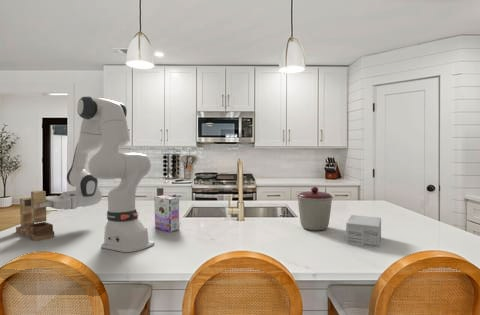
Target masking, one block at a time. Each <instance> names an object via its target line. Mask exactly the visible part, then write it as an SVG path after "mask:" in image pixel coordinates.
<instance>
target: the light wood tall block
mask: <svg viewBox="0 0 480 315" xmlns="http://www.w3.org/2000/svg"><path fill="white" fill-rule="evenodd" d="M46 192H47V191H45V190H35V191H34V190H33V191H30V197H31V209H32V222H34V224H36V223H41V222H47V207H39V203H46V195H47V193H46Z"/></svg>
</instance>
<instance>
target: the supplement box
mask: <svg viewBox="0 0 480 315" xmlns="http://www.w3.org/2000/svg"><path fill="white" fill-rule="evenodd" d="M345 225H346V227H345V228H346V230H345V233H346V234H345V236H346V240H345V241H346V245H351V246H352V245H353V246H360V247H367V248H375V249H380V246H381V239H382V218H381V217H379V216H366V215H356V214H355V215H354V214H351V215H350V217H349V219H348V220H347V221H346V223H345Z"/></svg>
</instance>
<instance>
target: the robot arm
mask: <svg viewBox="0 0 480 315" xmlns="http://www.w3.org/2000/svg"><path fill="white" fill-rule="evenodd" d="M76 108H77V114H78V116H79V117H80V118H82V120H81V124H80V130H79V137H78V141H77V143H76V147H75V150H74V154H73V157H72V158H73V159H72V163H71V167H70V168H69V170H68V172H67V173H66V181H67V184H68V185H69V186H72V187H74V188H75V190H69V191H63V192H62V193H61V194H60V195H48V196H46V203H39V207H46V208H51V209H55V210H64V211H66V210H76V209H77V208H80V207H82V208H85V207H90V206H95V205H96V204H98V203H100V202H101V200H102V198H103V192H102V190H101V189H100V188H99V184H98V183H99V181H98V180H99V179H100V180H115V179H121V180H120V182H119V184H118V185H116V186H115V187H113V188H111V190H109V192H108V194H107V211H106V219H107V223H106V225H105V226H104V232H103V233H104V234H103V243H101V246H100V247H101V248H102V249H107V250H111V251H116V252H117V251H118V252H122V253H132V252H138V251H141V250H144V249H147V248H150V247H152V246H155V241H153V240H151V239H150V238H149V232H148V227H146V226H144V224H143V223H142V222H141V221H140V220H139V212H138V211H137V208H136V193H137V189H138V187H139V184H140V182H141V181H142V180H143V178H145V177H146V175H148V173H149V172H150V170H151V167H152V162H151V160H150V158H149V157H148V155H147V154H144V153H139V152H138V153H137V152H120V150H119V149H121V148H123V147H125V146H126V145H127V144H128V143H129V141H130V134H129V127H128V126H129V125H128V121H127V112H128V111H127V106H125V104H124V103H122V102H120V101H117V100H116V101H115V100H111V99H106V98H103V97H92V96H82V97H80V99H78V102H77V107H76ZM97 149H99V150H98V151H97V152H96V153H95V154H94V155H93V156H92V157H91V158H90V160H89V161H88V166H87V160H88V156H89V153H91V151H95V150H97ZM86 166H87V168H88V171H89V172H88V171H87V170H86Z"/></svg>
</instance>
